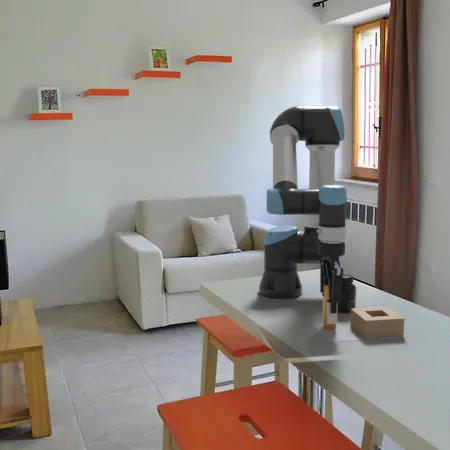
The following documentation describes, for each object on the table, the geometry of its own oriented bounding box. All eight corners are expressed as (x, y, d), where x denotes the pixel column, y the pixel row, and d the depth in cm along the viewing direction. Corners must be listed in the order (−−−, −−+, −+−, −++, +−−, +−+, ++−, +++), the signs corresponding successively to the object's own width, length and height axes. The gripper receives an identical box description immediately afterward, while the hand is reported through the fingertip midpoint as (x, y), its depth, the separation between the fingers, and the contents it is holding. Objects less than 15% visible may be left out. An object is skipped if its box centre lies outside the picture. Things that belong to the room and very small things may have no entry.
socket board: (312, 327, 172) (312, 307, 171) (383, 323, 176) (384, 303, 175) (329, 345, 158) (329, 324, 157) (406, 340, 161) (407, 319, 160)
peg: (321, 325, 171) (322, 285, 169) (333, 324, 171) (334, 284, 169) (325, 329, 167) (326, 288, 165) (337, 328, 168) (338, 287, 166)
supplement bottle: (355, 316, 182) (356, 278, 180) (333, 315, 183) (334, 277, 181) (355, 310, 188) (356, 273, 186) (333, 308, 190) (334, 272, 188)
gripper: (310, 236, 173) (308, 313, 176) (328, 247, 157) (326, 331, 160) (334, 235, 174) (332, 311, 178) (355, 246, 158) (352, 330, 162)
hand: (329, 321), depth 169 cm, fingers closed on peg, 3 cm apart
